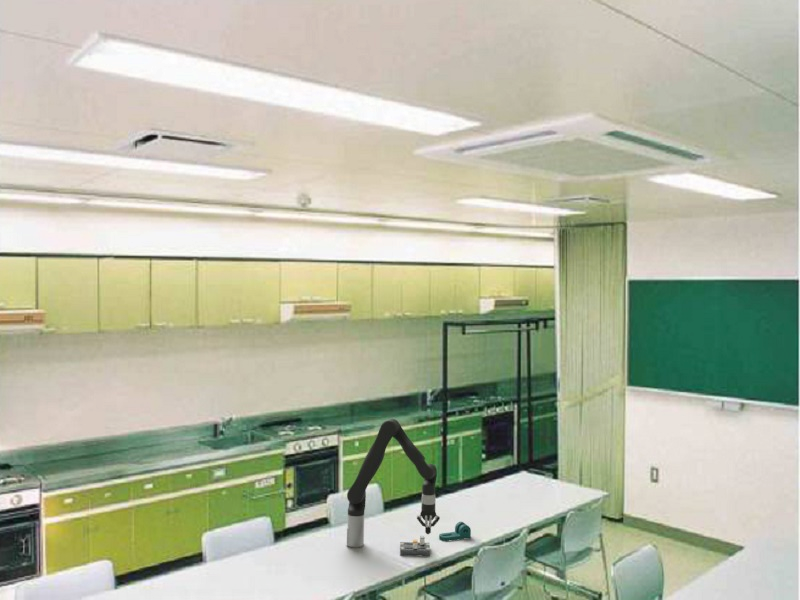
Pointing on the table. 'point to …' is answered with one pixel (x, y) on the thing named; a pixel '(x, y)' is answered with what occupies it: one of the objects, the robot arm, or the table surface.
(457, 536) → the bracket
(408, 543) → the panel
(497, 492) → the table surface
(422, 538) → the block
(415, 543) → the block
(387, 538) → the table surface
